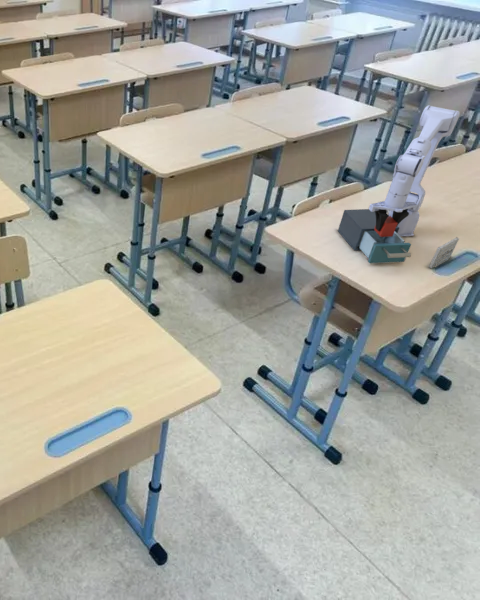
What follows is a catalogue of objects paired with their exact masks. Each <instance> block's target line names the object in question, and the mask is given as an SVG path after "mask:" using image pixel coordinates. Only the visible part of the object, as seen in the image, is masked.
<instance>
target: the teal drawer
mask: <svg viewBox="0 0 480 600" xmlns="http://www.w3.org/2000/svg"><path fill="white" fill-rule="evenodd" d="M411 246H412V244H411V243H410V242H406V241H405V239H404V238H403V237H402V236H401V237H400V236H399V235H398V234H397V233H396V232H395V231H394V234H393V236H388V237H380V236H379V234H378V233H377V232H376V231H363V234H362V237H361V239H360V242H359V245H358V247H359V248H360V249H361V250H360V251H361V252H362V253H363V254H364V255H365V256H366V258H367V259H368V260H367V262H368V264H379V263H380V264H381V263H382V264H383V263H385V264H386V263H404V262H405V260H406V258H411V256H412V254H411V252H409V251H410V249H411Z"/></svg>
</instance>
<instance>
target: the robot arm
mask: <svg viewBox="0 0 480 600" xmlns="http://www.w3.org/2000/svg"><path fill="white" fill-rule="evenodd" d="M460 115H461V113H460V110H454V109H450V108H444V107H439V106H434V105H430V104H428V105H427V106H425V107H424V109H423V111H422V113H421V116H420V118H419V130H420V134H419V136H418V137H415V138H413V139H412V141H411V142H410V143H409V145H408V147H407V148H406V150H405V152H404V153H403V154H400V155H399V157H398V158H397V160H396V162H395V165H394V170H393V174H392V180H391V183H390V185H389V188H388V191H387V193H386V197H385V199H384V200H383V201H379V202H375V203H369V207H368V209H369V210H370V211H371V212H374V211H375V215H376V229H377V230H378V231H381V229H382V227H383V224H384V222H385V220H386V219H387V218H388V216H391V217H392V218H393V219H394V220H395V221H396V222H397V223H398V224H397V226H398V227H399V230H398V233H397V234H398V235H399V236H400V237H401V238H402V237H414V236H415V234H414V233H415V231H416V227H417V225H418V223H419V220H420V212H419V211H420V209H421V206H422V204H423V202H424V199H425V196H426V190H425V188H424V187H423V186H422V184H421V183H422V181H423V180H424V177H425V174H426V172H427V170H428V167H429V166H430V163H431V161H432V158H433V156H434V155H435V152H436V150H437V147H438V145H439V143H440V141H442V139H443V138H444V137H450V136H451V134H452V133H453V131H454V129H455V127H456V124H457V122H458V120H459V118H460ZM387 210H390V211H389V212H388V211H387ZM397 226H396V227H397Z"/></svg>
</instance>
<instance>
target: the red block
mask: <svg viewBox="0 0 480 600" xmlns="http://www.w3.org/2000/svg"><path fill="white" fill-rule="evenodd" d="M397 224H398V223H397V222H396V221H395V220H394V219H393V218H392V217H391V216H388V218H387V219H386V220H385V222H384V224H383V227H382V229H381V231H378V230H377V229H376V226H375V229H374V230H375V231H376V232H377V233H378V234H379V236H380V237H388V236H393V234H394V231H395V229H396V226H397Z"/></svg>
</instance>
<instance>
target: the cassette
mask: <svg viewBox="0 0 480 600" xmlns="http://www.w3.org/2000/svg"><path fill="white" fill-rule="evenodd" d="M459 240H460V238H459V237H457V236H456V237H454V238H453V239H451V240H448V241H447V242H445V243H444V244H442V245H440V246H439V247H437V248H436V251H435V253H434V255H433V256H432V259H431V262H430V263H429V265H428V268H429V269H434V268H436V267H439V266H440V265H442V264H444V263H445V262H447V261H448V260H449V259H450V258H451V257H452V255H453V252H454V250H455V249H456V247H457V244H458V242H459Z"/></svg>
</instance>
